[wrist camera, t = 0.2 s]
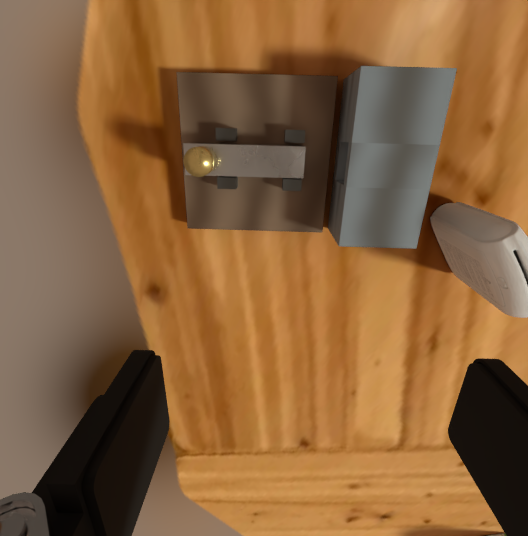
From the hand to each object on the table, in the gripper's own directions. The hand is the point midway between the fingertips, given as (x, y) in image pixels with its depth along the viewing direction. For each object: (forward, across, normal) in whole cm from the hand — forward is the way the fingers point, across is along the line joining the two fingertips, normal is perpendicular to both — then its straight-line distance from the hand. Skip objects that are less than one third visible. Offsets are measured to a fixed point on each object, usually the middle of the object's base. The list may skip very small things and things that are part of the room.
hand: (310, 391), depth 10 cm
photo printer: (+31, -22, +4) cm, 38 cm away
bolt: (+29, +4, -5) cm, 29 cm away
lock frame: (+31, -2, -5) cm, 31 cm away
